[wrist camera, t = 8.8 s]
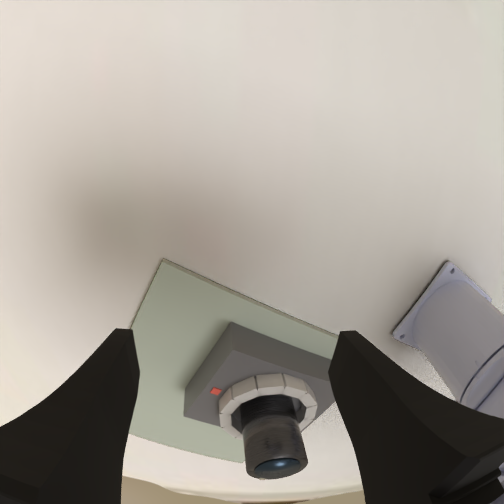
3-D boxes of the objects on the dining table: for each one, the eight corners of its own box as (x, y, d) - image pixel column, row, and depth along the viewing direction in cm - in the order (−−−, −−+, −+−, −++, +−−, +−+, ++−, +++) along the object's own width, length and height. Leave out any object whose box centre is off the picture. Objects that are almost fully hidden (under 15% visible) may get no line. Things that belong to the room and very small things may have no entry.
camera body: (337, 361, 25) (353, 398, 21) (284, 416, 27) (292, 452, 24) (230, 321, 22) (234, 362, 18) (184, 388, 25) (182, 428, 21)
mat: (359, 344, 25) (361, 348, 25) (241, 459, 31) (241, 463, 31) (163, 258, 20) (162, 261, 20) (94, 416, 26) (93, 420, 26)
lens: (303, 397, 22) (321, 459, 17) (273, 425, 23) (284, 483, 18) (258, 384, 21) (269, 452, 16) (230, 414, 22) (235, 477, 17)
